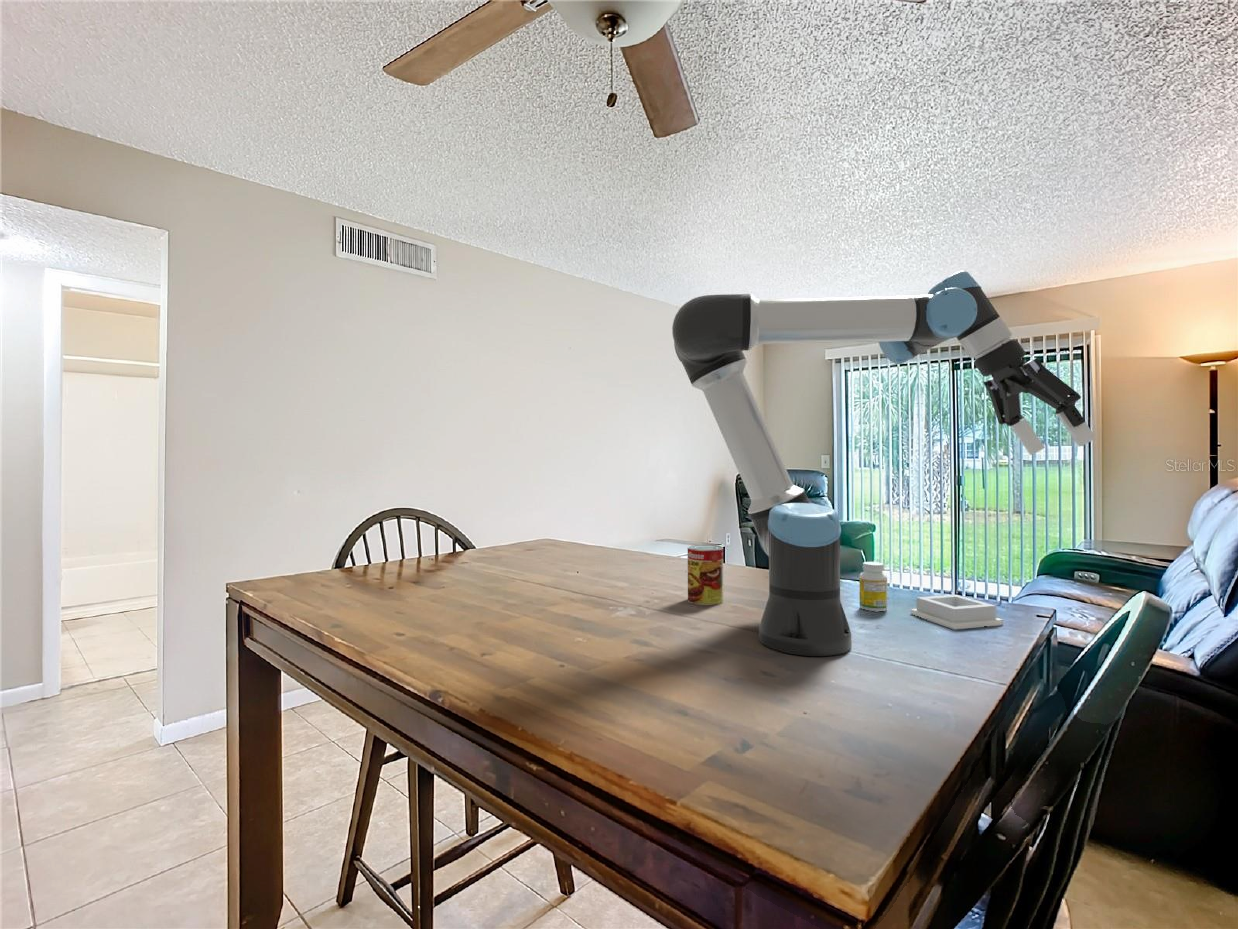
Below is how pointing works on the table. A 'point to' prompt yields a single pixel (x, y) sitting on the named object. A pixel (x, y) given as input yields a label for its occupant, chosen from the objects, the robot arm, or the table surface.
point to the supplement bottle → (873, 587)
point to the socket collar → (956, 612)
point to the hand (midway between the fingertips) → (1061, 447)
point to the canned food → (705, 574)
